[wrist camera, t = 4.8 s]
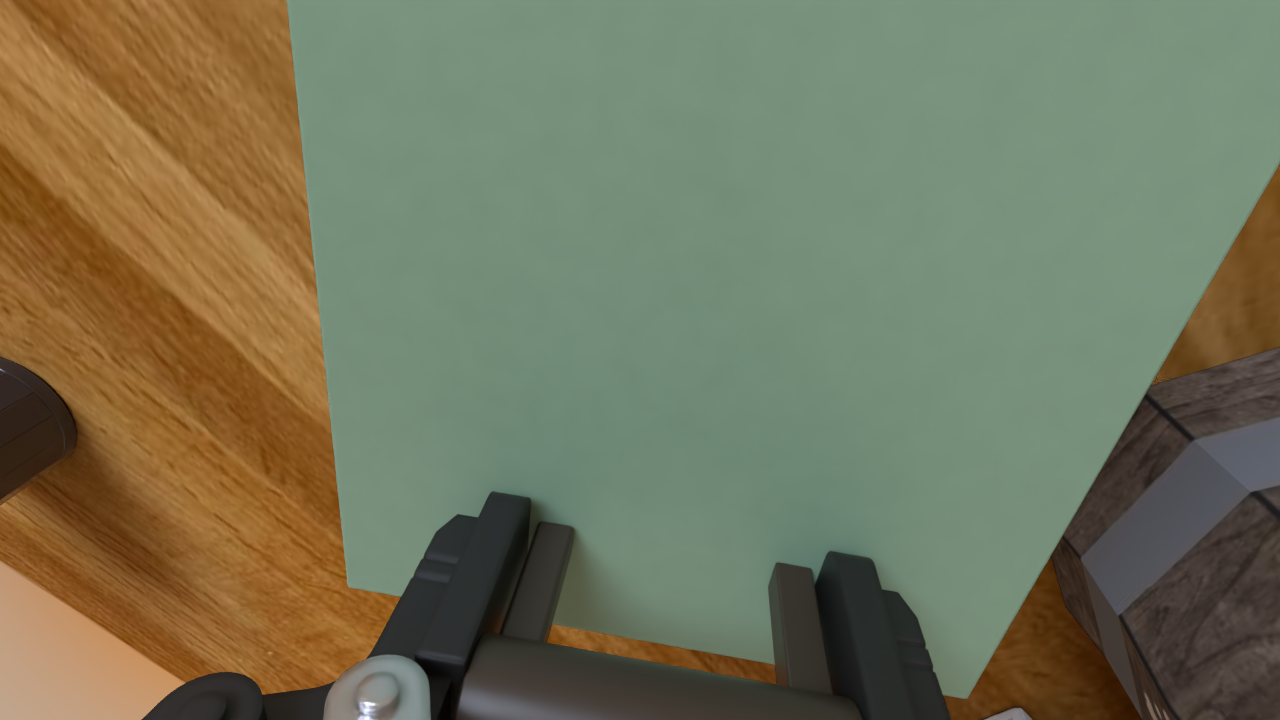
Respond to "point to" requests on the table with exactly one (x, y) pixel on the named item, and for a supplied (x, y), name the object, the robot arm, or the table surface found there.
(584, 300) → the lid
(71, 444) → the cup
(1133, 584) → the mug
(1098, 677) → the table surface
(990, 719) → the white packaging box
